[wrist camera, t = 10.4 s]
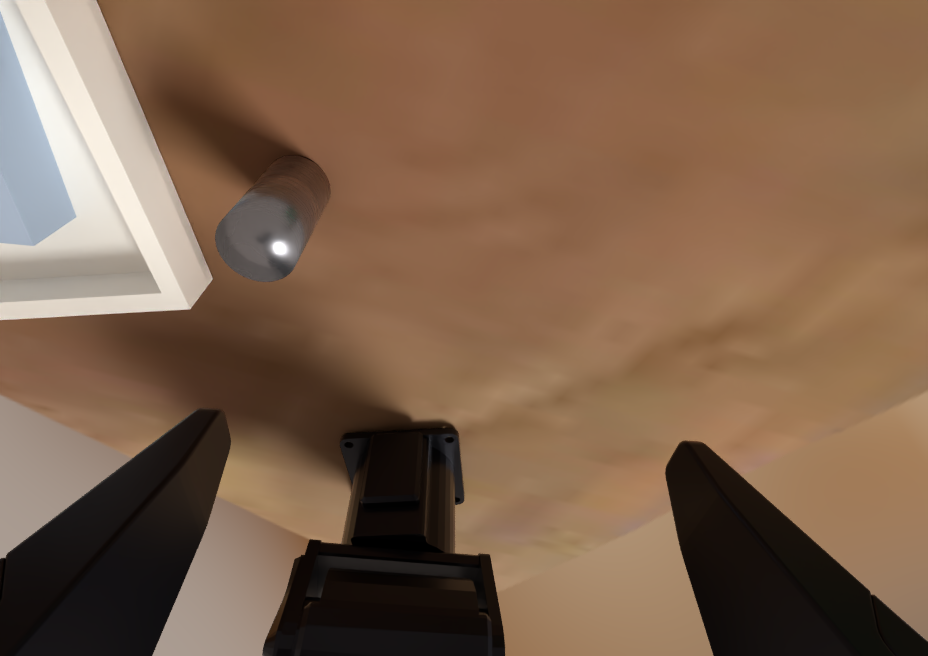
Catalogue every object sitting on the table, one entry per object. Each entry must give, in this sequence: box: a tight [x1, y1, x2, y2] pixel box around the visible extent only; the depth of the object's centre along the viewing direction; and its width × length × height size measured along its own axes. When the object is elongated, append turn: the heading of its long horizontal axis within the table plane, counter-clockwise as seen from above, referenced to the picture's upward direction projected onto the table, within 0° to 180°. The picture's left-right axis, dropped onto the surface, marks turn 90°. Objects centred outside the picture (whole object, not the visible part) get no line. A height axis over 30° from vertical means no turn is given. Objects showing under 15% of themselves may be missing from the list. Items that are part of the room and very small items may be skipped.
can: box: [215, 155, 330, 282], centre depth 17 cm, size 2×2×5 cm
